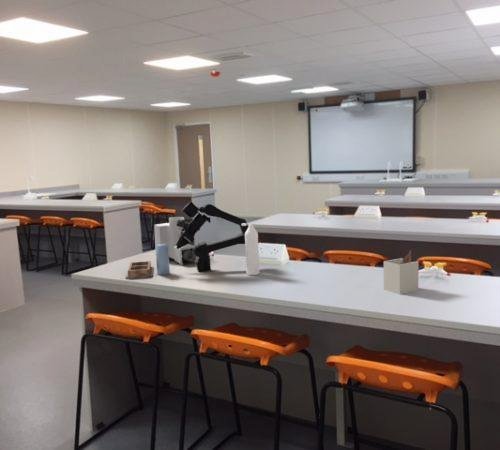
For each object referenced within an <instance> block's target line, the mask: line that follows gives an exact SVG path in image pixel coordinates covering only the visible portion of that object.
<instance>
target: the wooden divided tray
mask: <svg viewBox="0 0 500 450" xmlns="http://www.w3.org/2000/svg"><path fill="white" fill-rule="evenodd" d="M126 272H127V273H126V276H125V279H126V280H128V279H130V280H131V279H143V278H153V274H154V266H152V265H151V260H148V261H144V260H143V261H133V262H132V261H131V262H130V264H129V266H128V269H127V271H126Z"/></svg>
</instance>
